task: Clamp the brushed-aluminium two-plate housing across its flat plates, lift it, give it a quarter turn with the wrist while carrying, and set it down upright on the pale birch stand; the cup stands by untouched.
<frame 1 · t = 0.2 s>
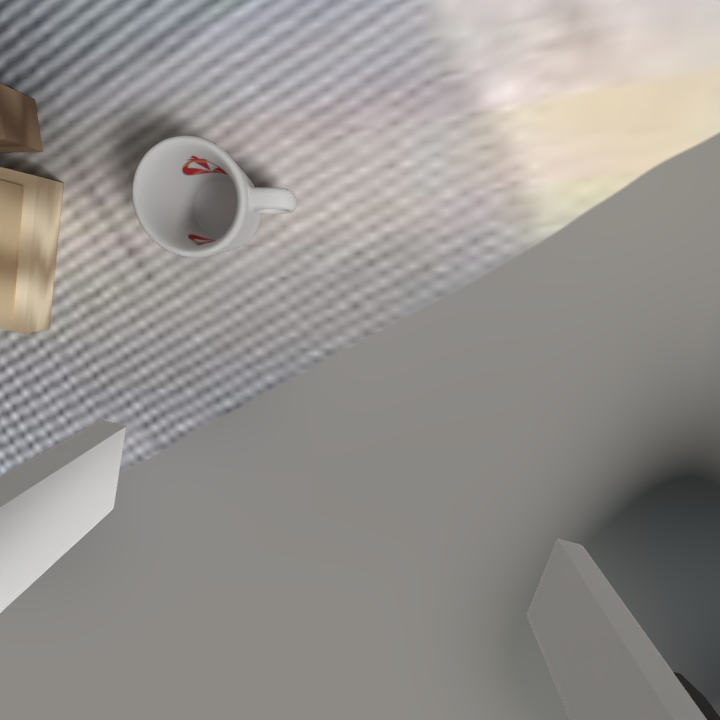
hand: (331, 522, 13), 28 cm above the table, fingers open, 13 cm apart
walnut block: (16, 126, 38), on the table
cup: (243, 210, 39), on the table
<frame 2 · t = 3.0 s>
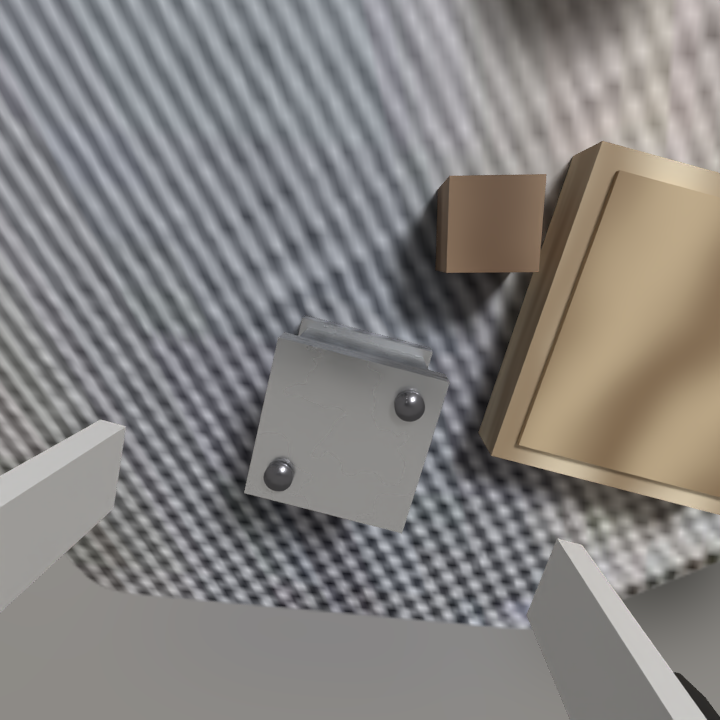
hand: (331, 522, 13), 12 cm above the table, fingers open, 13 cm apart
walnut block: (475, 230, 23), on the table
stand: (639, 335, 24), on the table
housing: (352, 390, 25), on the table
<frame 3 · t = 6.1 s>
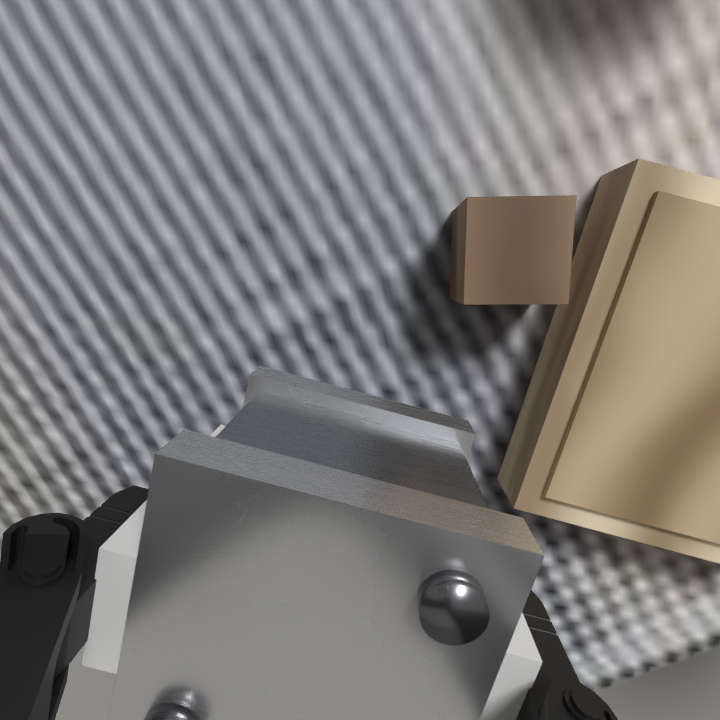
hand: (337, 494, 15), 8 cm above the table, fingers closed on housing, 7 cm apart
walnut block: (493, 256, 21), on the table
stand: (677, 372, 22), on the table
housing: (338, 488, 15), point 8 cm above the table, touching gripper
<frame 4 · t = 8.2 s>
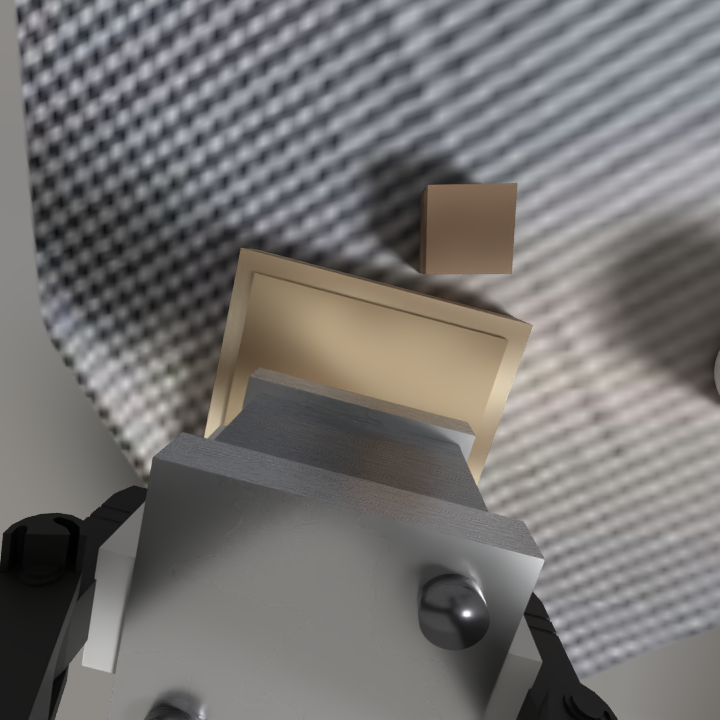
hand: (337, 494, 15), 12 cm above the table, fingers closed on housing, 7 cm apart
walnut block: (456, 235, 25), on the table
stand: (357, 391, 27), on the table
housing: (338, 490, 15), point 12 cm above the table, touching gripper
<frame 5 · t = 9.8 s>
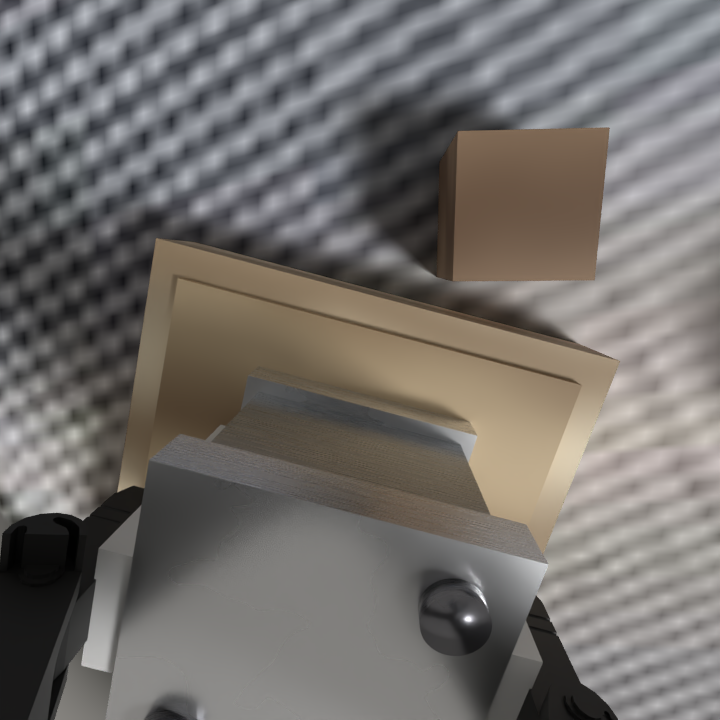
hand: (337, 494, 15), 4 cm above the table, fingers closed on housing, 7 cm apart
walnut block: (493, 220, 16), on the table
stand: (345, 448, 18), on the table
housing: (338, 490, 15), point 3 cm above the table, touching gripper, stand
when the fingers open (4 cm above the table, at t = 10.4 s): housing stays where it is, resting on stand.
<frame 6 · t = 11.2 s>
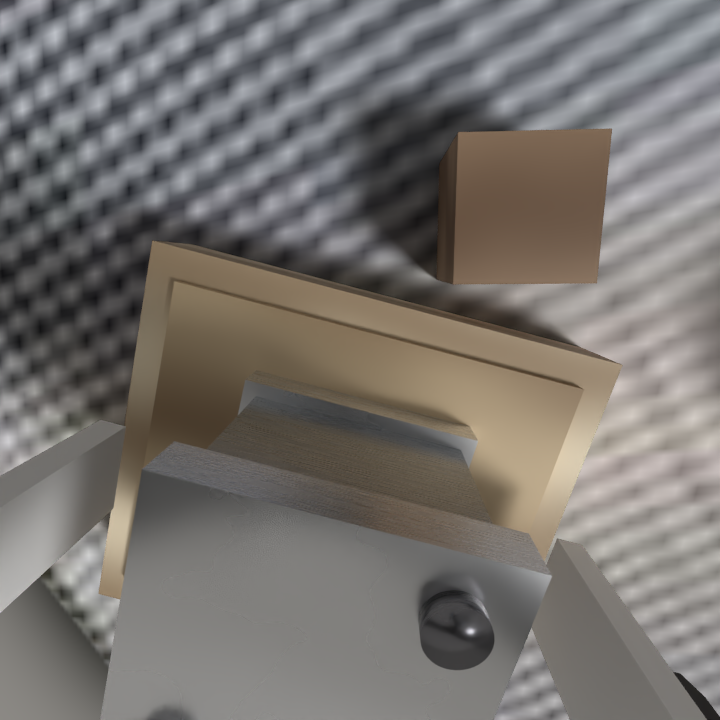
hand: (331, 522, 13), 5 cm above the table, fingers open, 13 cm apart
walnut block: (493, 222, 16), on the table
stand: (344, 452, 18), on the table
housing: (336, 495, 15), point 3 cm above the table, touching stand
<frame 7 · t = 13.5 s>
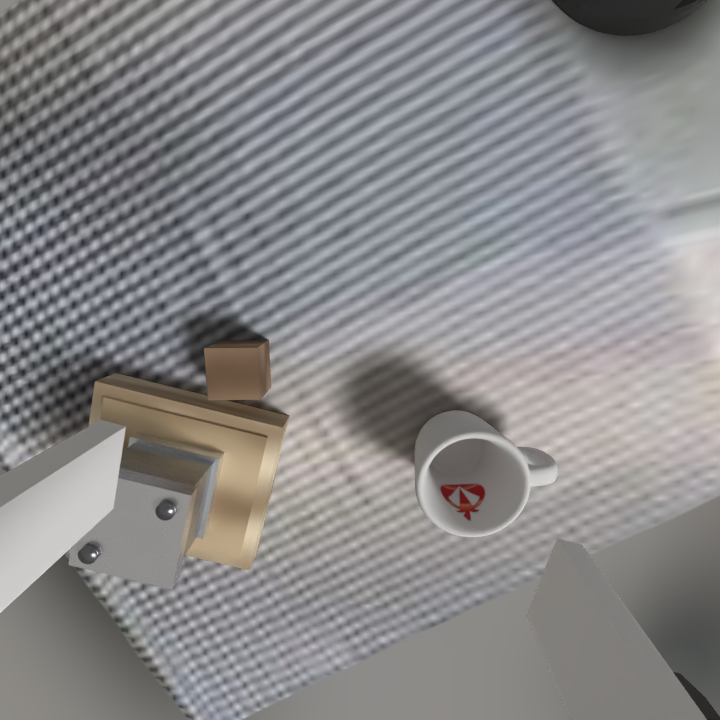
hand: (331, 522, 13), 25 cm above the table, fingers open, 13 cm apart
walnut block: (246, 363, 38), on the table
cup: (468, 442, 39), on the table
stand: (189, 464, 40), on the table
housing: (173, 482, 36), point 3 cm above the table, touching stand
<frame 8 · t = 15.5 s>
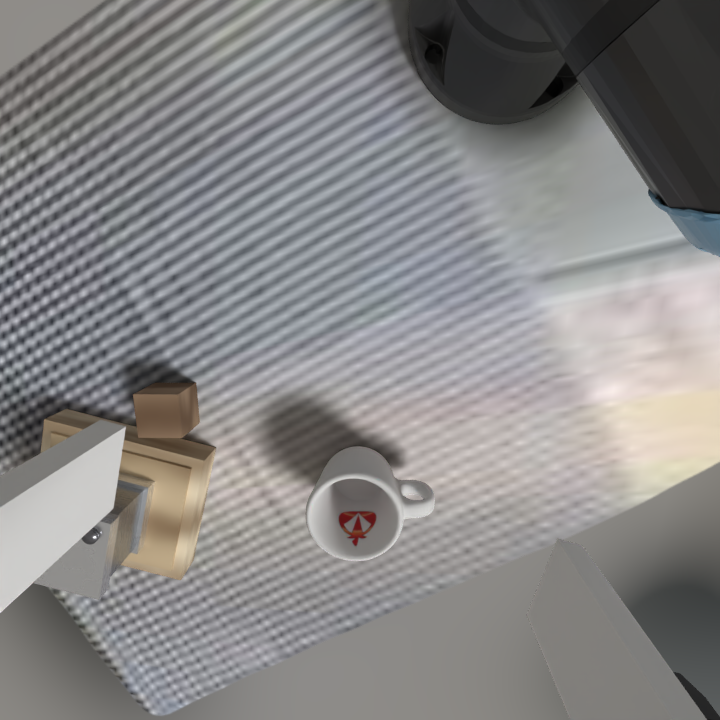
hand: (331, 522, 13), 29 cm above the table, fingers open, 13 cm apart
walnut block: (177, 402, 43), on the table
cup: (373, 472, 44), on the table
stand: (132, 487, 45), on the table
housing: (113, 504, 42), point 3 cm above the table, touching stand
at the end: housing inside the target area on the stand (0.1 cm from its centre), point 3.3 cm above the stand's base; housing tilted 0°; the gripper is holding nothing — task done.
